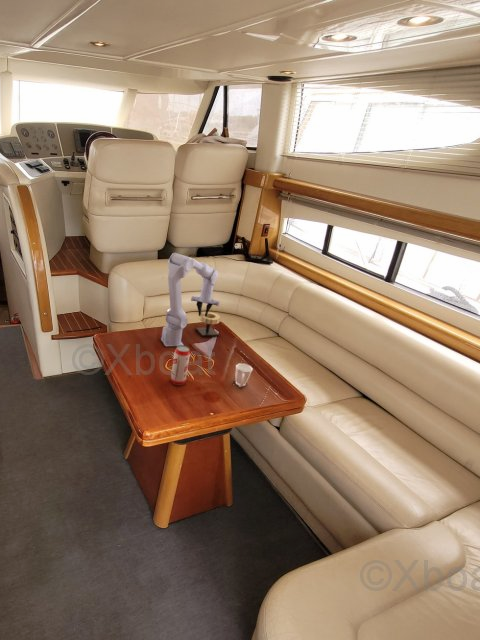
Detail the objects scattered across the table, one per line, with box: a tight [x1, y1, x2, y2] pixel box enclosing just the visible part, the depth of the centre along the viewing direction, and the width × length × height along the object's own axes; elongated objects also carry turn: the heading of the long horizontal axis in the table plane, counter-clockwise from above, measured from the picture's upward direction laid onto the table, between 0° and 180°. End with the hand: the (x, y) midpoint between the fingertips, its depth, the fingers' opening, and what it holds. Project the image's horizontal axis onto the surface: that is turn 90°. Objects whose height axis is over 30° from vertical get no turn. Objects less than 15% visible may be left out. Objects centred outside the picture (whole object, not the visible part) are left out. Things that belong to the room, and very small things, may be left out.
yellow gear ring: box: [199, 311, 221, 325], centre depth 201 cm, size 10×10×2 cm
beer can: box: [170, 345, 191, 386], centre depth 157 cm, size 6×6×16 cm
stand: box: [195, 323, 219, 338], centre depth 205 cm, size 9×9×6 cm
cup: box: [234, 363, 254, 388], centre depth 161 cm, size 7×10×8 cm
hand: (202, 316), depth 202 cm, fingers closed on yellow gear ring, 2 cm apart
